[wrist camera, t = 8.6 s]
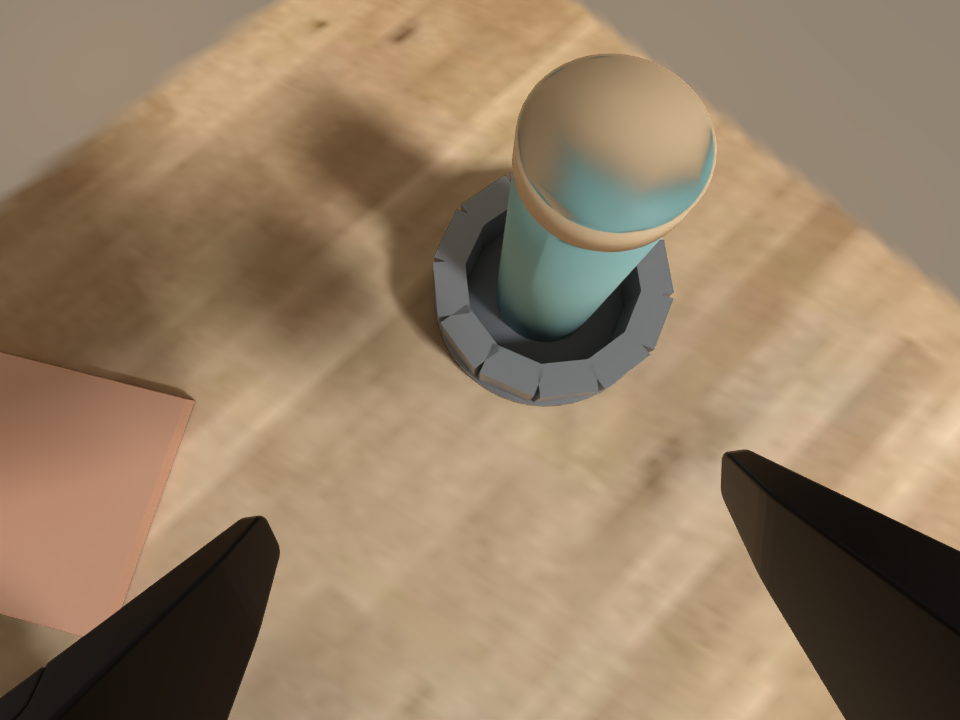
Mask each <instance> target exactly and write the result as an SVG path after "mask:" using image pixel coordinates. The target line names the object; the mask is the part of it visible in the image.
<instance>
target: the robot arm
mask: <svg viewBox="0 0 960 720" xmlns="http://www.w3.org/2000/svg"><path fill="white" fill-rule="evenodd" d="M721 493H722V496H723V499H724V502H725V504H726V506H727V508H728V510H729V513H730V515H731V517H732V519H733V521H734V523H735V525H736V528H737V530H738V532H739V534H740V536H741V538H742V540H743V543H744V545H745V547H746V549H747V551H748V553H749V555H750V558H751V560H752V562H753V564H754V566H755V568H756V570H757V572H758V574H759V576H760V578H761V580H762V581H763V583H764V585H765V587H766V589H767V590H768V592H769V594H770V595H771V597H772V599H773V600H774V602H775V604H776V605H777V607H778V608H779V610H780V612H781V613H782V615H783V617H784V618H785V620H786V622H787V623H788V625H789V627H790V628H791V630H792V632H793V633H794V635H795V637H796V638H797V640H798V642H799V643H800V645H801V647H802V648H803V650H804V652H805V653H806V655H807V657H808V658H809V660H810V662H811V663H812V665H813V667H814V668H815V670H816V672H817V673H818V675H819V676H820V678H821V680H822V681H823V683H824V685H825V686H826V688H827V690H828V691H829V693H830V695H831V696H832V698H833V700H834V701H835V703H836V705H837V706H838V708H839V710H840V711H841V713H842V715H843V716H844V718H845V720H960V551H958V550H956V549H954V548H952V547H950V546H948V545H946V544H944V543H941V542H939V541H937V540H935V539H933V538H931V537H929V536H927V535H925V534H923V533H921V532H919V531H916V530H914V529H912V528H910V527H908V526H906V525H904V524H902V523H900V522H898V521H896V520H894V519H891V518H889V517H887V516H885V515H883V514H881V513H879V512H877V511H875V510H873V509H871V508H869V507H866V506H864V505H862V504H860V503H858V502H856V501H854V500H852V499H850V498H848V497H846V496H844V495H841V494H839V493H837V492H835V491H833V490H831V489H829V488H827V487H825V486H823V485H821V484H819V483H816V482H814V481H812V480H810V479H808V478H806V477H804V476H802V475H800V474H798V473H796V472H794V471H791V470H789V469H787V468H785V467H783V466H781V465H779V464H777V463H775V462H773V461H771V460H769V459H766V458H764V457H762V456H760V455H758V454H756V453H754V452H752V451H749V450H737V451H730V452H726V453H724V454H723V457H722V468H721ZM279 555H280V549H279V544H278V542H277V540H276V538H275V536H274V534H273V532H272V530H271V528H270V525H269V523H268V521H267V520H266V518H264V517H263V516H252V517H245V518H242V519H240V520H239V521H237V522H236V523H235V524H233V525H232V526H231V527H229V528H228V529H227V530H225V531H224V532H222V533H221V534H220V535H218V536H217V537H216V538H214V539H213V540H212V541H210V542H209V543H208V544H206V545H205V546H204V547H202V548H201V549H200V550H198V551H197V552H196V553H194V554H193V555H192V556H190V557H189V558H188V559H186V560H185V561H184V562H182V563H181V564H180V565H178V566H177V567H176V568H174V569H173V570H172V571H170V572H169V573H168V574H166V575H165V576H164V577H162V578H161V579H160V580H158V581H157V582H156V583H154V584H153V585H152V586H150V587H149V588H148V589H146V590H145V591H143V592H142V593H141V594H139V595H138V596H137V597H135V598H134V599H133V600H131V601H130V602H129V603H127V604H126V605H125V606H123V607H122V608H121V609H119V610H118V611H117V612H115V613H114V614H113V615H111V616H110V617H109V618H107V619H106V620H105V621H103V622H102V623H101V624H99V625H98V626H97V627H95V628H94V629H93V630H91V631H90V632H89V633H87V634H86V635H85V636H83V637H82V638H81V639H79V640H78V641H77V642H75V643H74V644H73V645H71V646H70V647H68V648H67V649H66V650H64V651H63V652H62V653H60V654H59V655H58V656H56V657H55V658H54V659H52V660H51V661H50V662H48V664H47V665H46V667H42V668H40V669H39V670H37V671H36V672H35V673H33V674H32V675H31V676H29V677H28V678H27V679H25V680H24V681H23V682H21V683H20V684H19V685H17V686H16V687H15V688H13V689H12V690H11V691H9V692H8V693H7V694H5V695H4V696H2V697H1V698H0V720H228V717H229V714H230V711H231V709H232V706H233V703H234V700H235V698H236V695H237V692H238V690H239V687H240V684H241V681H242V679H243V676H244V673H245V670H246V668H247V665H248V662H249V660H250V657H251V654H252V651H253V649H254V646H255V643H256V640H257V637H258V634H259V631H260V628H261V624H262V621H263V617H264V613H265V610H266V606H267V602H268V598H269V594H270V591H271V587H272V583H273V579H274V575H275V572H276V568H277V564H278V560H279Z"/></svg>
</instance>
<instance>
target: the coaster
mask: <svg viewBox="0 0 960 720" xmlns="http://www.w3.org/2000/svg"><path fill="white" fill-rule="evenodd" d="M194 402H195V401H194V400H190V399H186V398H182V397H178V396H174V395H170V394H166V393H162V392H158V391H154V390H150V389H146V388H142V387H138V386H134V385H130V384H126V383H122V382H118V381H114V380H110V379H106V378H102V377H98V376H94V375H90V374H86V373H82V372H78V371H74V370H70V369H66V368H63V367H59V366H55V365H51V364H47V363H43V362H39V361H35V360H31V359H27V358H23V357H19V356H15V355H11V354H7V353H3V352H0V614H3V615H6V616H10V617H14V618H17V619H21V620H25V621H28V622H32V623H36V624H40V625H43V626H47V627H51V628H54V629H58V630H62V631H65V632H69V633H73V634H76V635H80V636H85V635H86V634H87V633H89V632H90V631H91V630H93V629H94V628H95V627H97V626H98V625H99V624H101V623H102V622H103V621H105V620H106V619H107V618H109V617H110V616H111V615H113V614H114V613H115V612H117V611H118V610H119V609H121V608H122V605H123V602H124V599H125V596H126V594H127V591H128V588H129V585H130V582H131V580H132V577H133V574H134V571H135V568H136V565H137V563H138V560H139V557H140V554H141V551H142V549H143V546H144V543H145V540H146V537H147V535H148V532H149V529H150V526H151V523H152V520H153V518H154V515H155V512H156V509H157V506H158V504H159V501H160V498H161V495H162V492H163V489H164V487H165V484H166V481H167V478H168V475H169V473H170V470H171V467H172V464H173V461H174V458H175V456H176V453H177V450H178V447H179V444H180V442H181V439H182V436H183V433H184V430H185V428H186V425H187V422H188V419H189V416H190V413H191V411H192V408H193V405H194Z"/></svg>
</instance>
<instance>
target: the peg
mask: <svg viewBox="0 0 960 720" xmlns="http://www.w3.org/2000/svg"><path fill="white" fill-rule="evenodd" d="M716 156H717V144H716V137H715V131H714V128H713V124H712V121H711V118H710V116H709V114H708V112H707V109H706V108H705V106H704V105H703V103H702V101H701V100H700V98H699V97H698V96H697V95H696V93H695V92H694V91H693V90H692V88H690V87H689V86H688V85H687V84H686V83H685V82H684V81H683V80H682V79H681V78H679V77H678V76H677V75H675V74H674V73H673V72H671V71H669V70H668V69H666V68H664V67H663V66H660V65H658V64H656V63H654V62H652V61H649V60H646V59H643V58H639V57H635V56H630V55H624V54H597V55H590V56H586V57H582V58H578V59H575V60H573V61H570V62H568V63H565V64H563V65H561V66H560V67H558V68H556V69H554V70H553V71H552V72H550V73H549V74H548V75H546V76H545V77H544V78H543V79H542V80H541V81H540V82H539V83H538V84H537V85H536V86H535V87H534V88H533V90H532V91H531V92H530V94H529V95H528V97H527V99H526V100H525V102H524V104H523V106H522V109H521V111H520V114H519V117H518V121H517V125H516V132H515V140H514V147H513V158H512V168H513V172H512V179H511V186H510V194H509V201H508V208H507V216H506V223H505V230H504V238H503V245H502V252H501V260H500V267H499V274H498V281H497V289H496V300H497V306H498V309H499V312H500V314H501V316H502V318H503V319H504V321H505V322H506V324H507V325H508V326H509V327H510V328H511V329H512V330H513V331H514V332H516V333H517V334H519V335H521V336H522V337H524V338H527V339H530V340H533V341H537V342H553V341H558V340H561V339H564V338H566V337H568V336H570V335H572V334H573V333H575V332H576V331H577V330H578V329H579V328H580V327H581V326H582V325H583V324H584V323H585V322H586V321H587V319H588V318H589V317H590V316H591V315H592V314H593V313H594V312H595V311H596V310H597V308H598V307H599V306H600V305H601V304H602V303H603V302H604V301H605V300H606V299H607V297H608V296H609V295H610V294H611V293H612V292H613V291H614V290H615V289H616V288H617V286H618V285H619V284H620V283H621V282H622V281H623V280H624V279H625V278H626V277H627V275H628V274H629V273H630V272H631V271H632V270H633V269H634V268H635V267H636V266H637V264H638V263H639V262H640V261H641V260H642V259H643V258H644V257H645V256H646V255H647V253H648V252H649V251H650V250H651V249H652V248H653V247H654V246H655V245H656V244H657V242H658V241H659V240H660V239H661V238H662V237H663V236H665V235H666V234H667V233H668V232H670V231H671V230H672V229H673V228H674V227H675V226H676V225H677V224H678V223H679V222H680V221H681V220H682V219H683V218H684V216H685V215H686V214H687V213H688V212H689V211H690V210H691V209H692V208H693V207H694V206H695V204H696V203H697V202H698V201H699V200H700V199H701V197H702V196H703V194H704V193H705V191H706V189H707V187H708V185H709V183H710V181H711V179H712V175H713V172H714V169H715V163H716Z"/></svg>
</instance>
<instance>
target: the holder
mask: <svg viewBox="0 0 960 720" xmlns="http://www.w3.org/2000/svg"><path fill="white" fill-rule="evenodd" d="M511 179H512V173H511V176H510V181H509V179H508V178H507V177H506V176H505V175H504V176H503V177H501V178H500V179H498V180H497V181H495V182H494V183H492V184H491V185H489V186H488V187H486V188H485V189H483V190H482V191H480V192H479V193H477V194H476V195H474V196H473V197H471V198H470V199H468V200H467V201H465V202H464V203H462V204H461V210H458V209H457V210H456V212H455V214H454V216H453V218H452V220H451V222H450V224H449V226H448V228H447V231H446V233H445V235H444V237H443V239H442V241H441V243H440V245H439V247H438V249H437V251H436V253H435V255H434V259H435V262H434V263H433V270H434V280H435V289H434V302H435V311H436V317H437V321H438V325H439V328H440V331H441V334H442V337H443V339H444V342H445V344H446V346H447V348H448V350H449V352H450V353H451V355H452V356H453V358H454V359H455V361H456V362H457V363H458V365H459V366H460V367H461V368H462V369H463V371H464V372H465V373H466V374H467V375H469V376H470V377H471V378H472V379H473V380H474V381H475V382H476V383H478V384H479V385H481V386H482V387H484V388H485V389H486V390H488V391H490V392H492V393H494V394H496V395H498V396H500V397H502V398H505V399H507V400H510V401H513V402H517V403H521V404H526V405H533V406H560V405H565V404H571V403H575V402H578V401H581V400H584V399H587V398H589V397H591V396H594V395H596V394H598V393H600V392H602V391H604V390H605V389H607V388H608V387H610V386H611V385H613V384H614V383H616V382H617V381H618V380H619V379H620V378H621V377H623V376H624V375H625V374H626V373H627V372H628V371H629V370H631V369H632V368H633V367H635V366H636V365H637V364H639V363H640V362H641V361H643V360H644V359H645V358H647V357H648V356H649V355H650V354H649V353H648V352H650V351H652V350H654V348H655V346H656V343H657V340H658V338H659V335H660V333H661V330H662V327H663V325H664V322H665V319H666V317H667V314H668V312H669V309H670V306H671V304H672V301H673V298H670V297H669V296H670V295H671V294H672V293H674V291H673V285H672V280H671V275H670V269H669V264H668V259H667V254H666V248H665V243H664V240H659V241H658V242H657V244H656V245H655V246H654V247H653V248H652V249H651V250H650V251H649V252H648V253H647V255H646V256H645V257H644V258H643V259H642V260H641V261H640V262H639V263H638V264H637V266H636V267H635V268H634V269H633V270H632V271H631V272H630V273H629V274H628V275H627V277H626V278H625V279H624V280H623V281H622V282H621V283H620V284H619V285H618V286H617V288H616V289H615V290H614V291H613V292H612V293H611V294H610V295H609V296H608V297H607V299H606V300H605V301H604V302H603V303H602V304H601V305H600V306H599V307H598V308H597V310H596V311H595V312H594V313H593V314H592V315H591V316H590V317H589V318H588V319H587V321H586V322H585V323H584V324H583V325H582V326H581V327H580V328H579V329H578V330H577V331H576V332H575V333H573V334H572V335H570V336H568V337H566V338H564V339H561V340H558V341H553V342H537V341H533V340H530V339H527V338H524V337H522V336H521V335H519V334H517V333H516V332H514V331H513V330H512V329H511V328H510V327H509V326H508V325H507V324H506V322H505V321H504V319H503V318H502V316H501V314H500V312H499V309H498V306H497V300H496V289H497V281H498V274H499V267H500V260H501V252H502V245H503V238H504V230H505V223H506V216H507V208H508V201H509V194H510V186H511Z"/></svg>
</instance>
